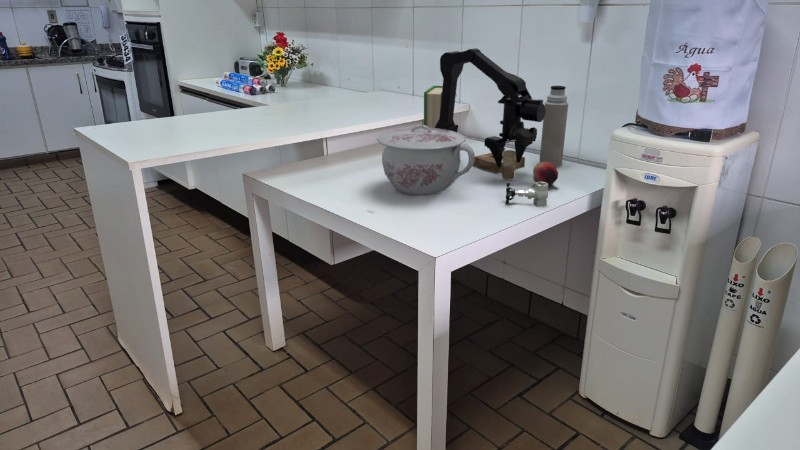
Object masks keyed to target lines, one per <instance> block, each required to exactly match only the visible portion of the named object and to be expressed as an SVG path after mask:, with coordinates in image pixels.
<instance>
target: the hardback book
mask: <svg viewBox="0 0 800 450" xmlns="http://www.w3.org/2000/svg"><path fill="white" fill-rule="evenodd" d="M442 87H443V85H432V86H431V87H429V88H428V89H427V90H425V91H424V92H423V125H425V126H427V127H429V128H435V126H436V124H437V122H438V120H439V118H440V108H441V98H442Z"/></svg>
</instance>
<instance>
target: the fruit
mask: <svg viewBox="0 0 800 450" xmlns="http://www.w3.org/2000/svg"><path fill="white" fill-rule="evenodd" d="M532 178H533V181H534V183H536V182H546V183H548V188H549V187H551V186H553V184H554V183H555V182H556V181H557V180H558V178H559V171H558V169H557V167H555V166H554V165H553V164H552V163H550V162H541V163H537V164H536V165H534V167H533V172H532Z"/></svg>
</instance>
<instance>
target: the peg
mask: <svg viewBox="0 0 800 450" xmlns="http://www.w3.org/2000/svg"><path fill="white" fill-rule="evenodd" d="M515 158H516V151H515V150H512V149H508V150H507V149H505V150H504V155H503V171H502V173H501V178H502V180H503V179H504V180H513V179H515V173H516V172H515V170H516V169H515Z"/></svg>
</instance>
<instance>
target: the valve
mask: <svg viewBox="0 0 800 450" xmlns="http://www.w3.org/2000/svg"><path fill="white" fill-rule="evenodd" d="M534 183H535V182H534ZM548 190H549V187H548V183H546V182H536V183H535V184H534V189H533V188H527V190H525V191H524V190H523V189H522V190H521V189H520V190H518V191H516V189H515V188H514V187H513V186H511V182H510V181H507V182H506V188H505V204H510V201H512V200H513V199H514V198H515V197H516V196H518V197H523V198H524V196H525V197H526V198H527V200H532V199H533V200H532V201H533V203H532V204H533V206H535V207H539V206H540V207H541V208H544V207H545V206H547V203H548V197H549V191H548Z"/></svg>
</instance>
